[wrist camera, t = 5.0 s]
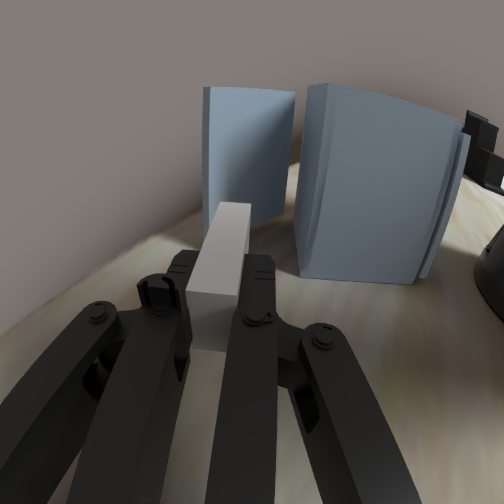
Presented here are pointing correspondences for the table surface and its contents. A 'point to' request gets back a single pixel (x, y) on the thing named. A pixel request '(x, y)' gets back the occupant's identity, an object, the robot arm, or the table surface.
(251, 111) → the right flap
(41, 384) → the robot arm
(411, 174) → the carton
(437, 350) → the table surface
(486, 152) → the black stepped block
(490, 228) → the table surface
